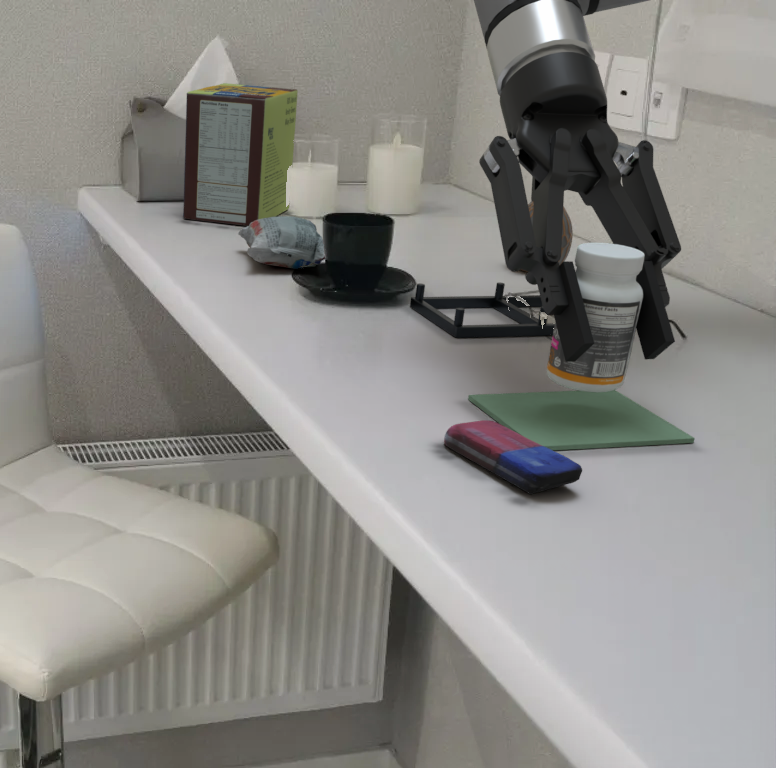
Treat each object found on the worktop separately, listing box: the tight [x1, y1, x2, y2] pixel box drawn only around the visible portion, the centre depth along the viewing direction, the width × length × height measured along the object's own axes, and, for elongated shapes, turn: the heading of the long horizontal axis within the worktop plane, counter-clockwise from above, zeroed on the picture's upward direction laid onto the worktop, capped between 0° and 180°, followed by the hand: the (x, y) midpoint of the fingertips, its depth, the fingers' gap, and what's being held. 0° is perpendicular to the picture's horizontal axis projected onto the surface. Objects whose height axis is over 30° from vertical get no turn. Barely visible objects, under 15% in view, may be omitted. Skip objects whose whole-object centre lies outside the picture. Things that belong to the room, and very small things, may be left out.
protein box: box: [182, 82, 298, 227], centre depth 152 cm, size 10×15×16 cm
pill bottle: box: [546, 242, 645, 392], centre depth 85 cm, size 6×6×10 cm
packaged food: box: [237, 215, 326, 270], centre depth 130 cm, size 9×12×5 cm
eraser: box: [443, 420, 583, 495], centre depth 79 cm, size 11×4×2 cm, turn 26°
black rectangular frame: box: [409, 282, 555, 339], centre depth 114 cm, size 18×11×2 cm, turn 105°
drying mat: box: [467, 389, 696, 451], centre depth 89 cm, size 13×11×1 cm
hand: (620, 351), depth 83 cm, fingers closed on pill bottle, 6 cm apart
